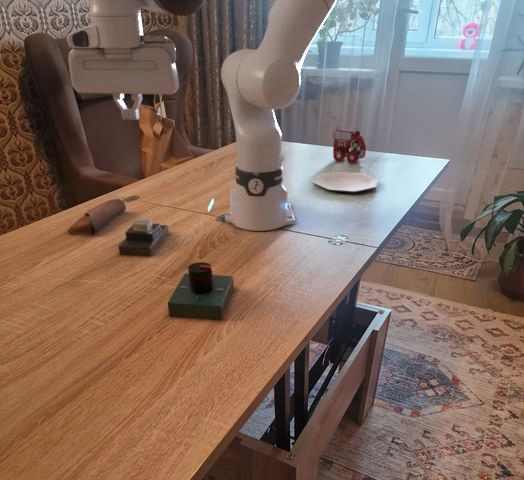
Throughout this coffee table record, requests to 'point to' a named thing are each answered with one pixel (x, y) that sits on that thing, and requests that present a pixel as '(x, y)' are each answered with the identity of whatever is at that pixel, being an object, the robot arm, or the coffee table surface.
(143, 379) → the coffee table surface
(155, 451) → the coffee table surface
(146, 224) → the key
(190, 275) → the volume dial
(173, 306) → the volume panel
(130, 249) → the key block
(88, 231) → the sunglasses case
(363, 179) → the plate
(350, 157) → the toy fire truck
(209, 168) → the coffee table surface
